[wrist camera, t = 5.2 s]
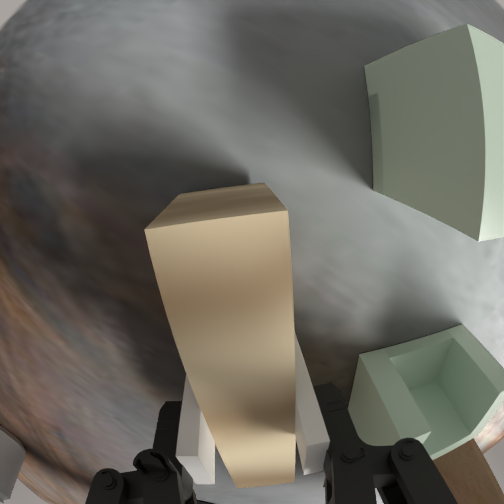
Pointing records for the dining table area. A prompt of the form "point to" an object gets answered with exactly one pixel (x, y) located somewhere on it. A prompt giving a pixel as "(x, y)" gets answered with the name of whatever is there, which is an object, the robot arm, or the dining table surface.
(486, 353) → the end caps
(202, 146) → the dining table surface
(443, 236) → the dining table surface
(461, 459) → the wooden block
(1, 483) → the can
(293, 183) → the dining table surface
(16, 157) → the dining table surface
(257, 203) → the slat
